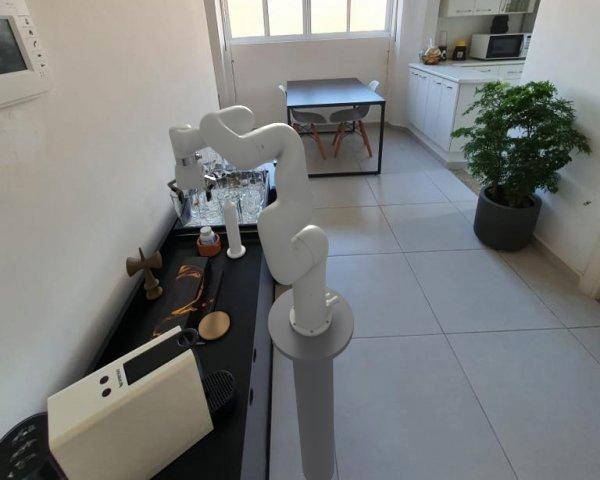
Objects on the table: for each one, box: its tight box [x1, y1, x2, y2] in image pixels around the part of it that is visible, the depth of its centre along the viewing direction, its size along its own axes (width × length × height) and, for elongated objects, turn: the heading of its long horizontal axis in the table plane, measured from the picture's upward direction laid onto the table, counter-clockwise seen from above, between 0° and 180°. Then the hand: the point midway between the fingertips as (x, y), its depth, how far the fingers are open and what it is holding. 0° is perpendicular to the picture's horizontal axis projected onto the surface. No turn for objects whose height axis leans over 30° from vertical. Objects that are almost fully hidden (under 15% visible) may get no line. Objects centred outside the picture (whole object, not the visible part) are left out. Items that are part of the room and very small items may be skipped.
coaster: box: [198, 311, 231, 341], centre depth 92 cm, size 9×9×1 cm
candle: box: [221, 196, 246, 259], centre depth 116 cm, size 7×7×25 cm
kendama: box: [125, 246, 163, 301], centre depth 100 cm, size 6×10×20 cm, turn 110°
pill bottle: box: [199, 225, 216, 246], centre depth 121 cm, size 6×5×10 cm
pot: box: [196, 232, 222, 258], centre depth 122 cm, size 8×8×5 cm
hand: (196, 201), depth 116 cm, fingers open, 9 cm apart
